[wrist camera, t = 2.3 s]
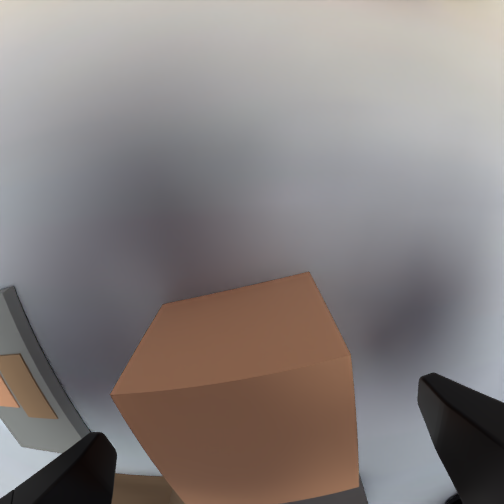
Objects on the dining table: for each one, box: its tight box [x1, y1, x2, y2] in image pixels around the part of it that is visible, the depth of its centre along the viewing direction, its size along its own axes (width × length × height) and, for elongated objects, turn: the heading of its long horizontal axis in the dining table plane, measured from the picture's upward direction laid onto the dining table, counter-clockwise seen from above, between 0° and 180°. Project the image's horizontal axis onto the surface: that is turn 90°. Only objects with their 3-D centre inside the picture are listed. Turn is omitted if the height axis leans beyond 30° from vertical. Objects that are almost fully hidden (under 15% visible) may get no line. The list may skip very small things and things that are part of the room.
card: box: [0, 286, 90, 453], centre depth 11 cm, size 9×6×1 cm, turn 14°
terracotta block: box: [110, 272, 359, 504], centre depth 9 cm, size 5×5×5 cm
